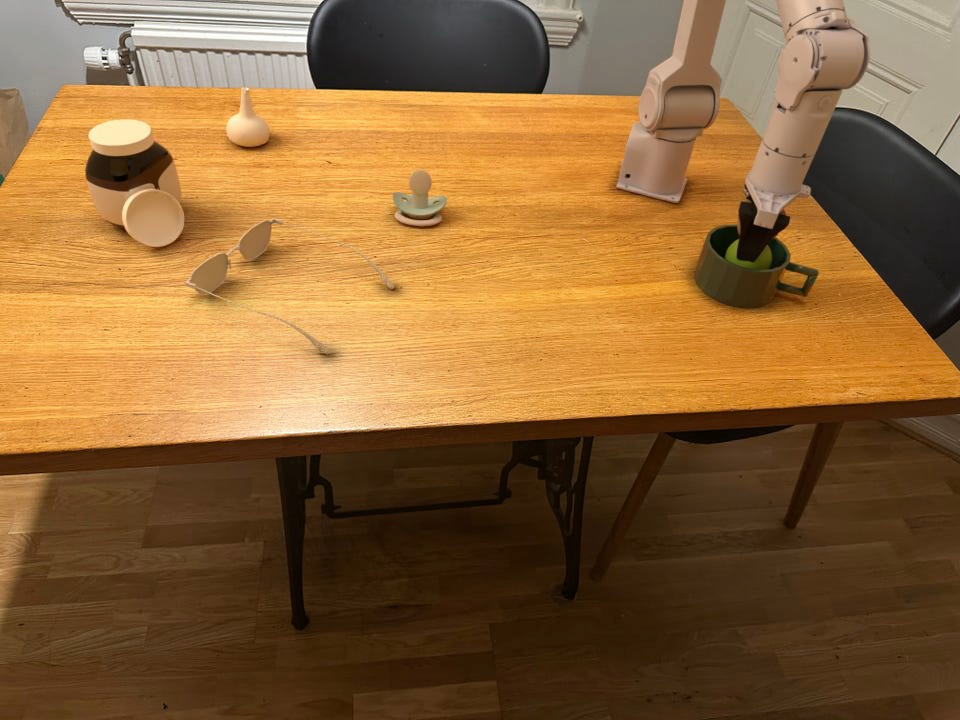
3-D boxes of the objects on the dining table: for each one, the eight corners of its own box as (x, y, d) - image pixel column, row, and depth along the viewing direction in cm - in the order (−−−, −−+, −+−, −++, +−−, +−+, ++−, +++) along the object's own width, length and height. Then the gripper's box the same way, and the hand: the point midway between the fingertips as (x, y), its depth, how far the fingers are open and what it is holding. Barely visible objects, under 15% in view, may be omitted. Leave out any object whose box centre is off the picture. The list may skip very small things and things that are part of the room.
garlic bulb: (219, 142, 106) (209, 90, 100) (249, 128, 110) (241, 77, 104) (249, 155, 104) (241, 102, 98) (279, 140, 108) (273, 89, 102)
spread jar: (146, 192, 94) (122, 109, 86) (218, 212, 92) (200, 128, 84) (80, 237, 86) (47, 149, 78) (158, 260, 83) (132, 172, 75)
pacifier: (443, 232, 93) (447, 207, 97) (444, 190, 88) (449, 166, 92) (388, 226, 93) (395, 202, 97) (387, 185, 88) (394, 161, 92)
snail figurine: (705, 264, 89) (736, 179, 81) (752, 264, 90) (787, 179, 82) (720, 290, 85) (754, 203, 77) (769, 289, 86) (808, 204, 78)
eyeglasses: (275, 240, 88) (271, 212, 86) (399, 285, 83) (398, 257, 81) (189, 306, 78) (180, 277, 75) (324, 361, 73) (320, 333, 70)
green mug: (687, 294, 86) (700, 257, 83) (700, 252, 93) (712, 216, 90) (802, 326, 83) (820, 290, 79) (806, 280, 90) (823, 245, 87)
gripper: (825, 183, 70) (776, 290, 79) (828, 128, 80) (784, 229, 89) (754, 166, 72) (714, 273, 81) (766, 114, 82) (729, 214, 91)
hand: (747, 249), depth 85 cm, fingers closed on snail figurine, 4 cm apart
